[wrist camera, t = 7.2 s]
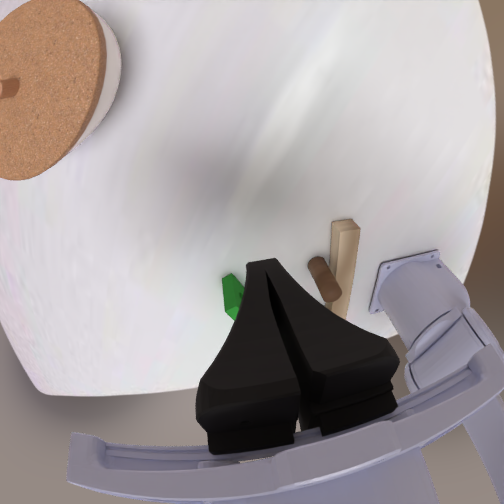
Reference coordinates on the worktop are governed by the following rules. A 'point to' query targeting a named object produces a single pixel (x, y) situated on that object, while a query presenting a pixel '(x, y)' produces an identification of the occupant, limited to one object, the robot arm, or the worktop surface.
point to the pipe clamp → (232, 295)
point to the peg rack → (337, 267)
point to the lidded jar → (52, 82)
